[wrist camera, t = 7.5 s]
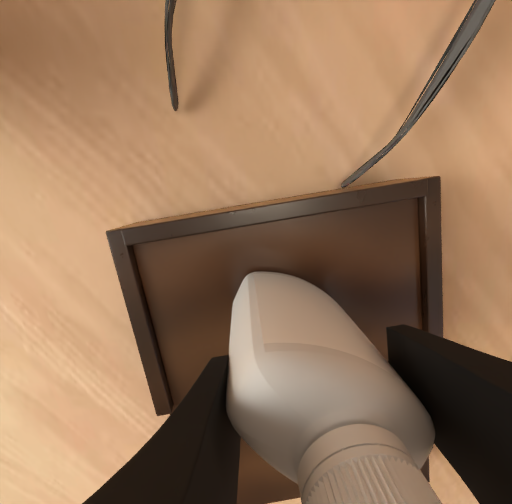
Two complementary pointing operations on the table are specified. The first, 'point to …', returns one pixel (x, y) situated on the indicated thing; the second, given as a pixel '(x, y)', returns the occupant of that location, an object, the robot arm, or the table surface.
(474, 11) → the novelty glasses
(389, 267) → the step shelf
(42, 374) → the table surface
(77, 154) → the table surface
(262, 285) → the eye dropper bottle
